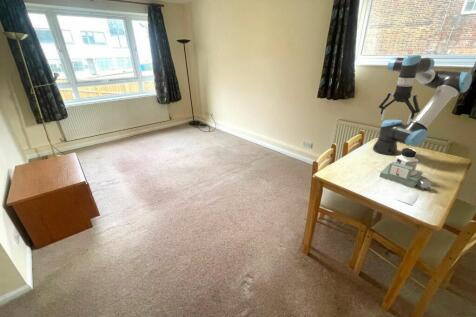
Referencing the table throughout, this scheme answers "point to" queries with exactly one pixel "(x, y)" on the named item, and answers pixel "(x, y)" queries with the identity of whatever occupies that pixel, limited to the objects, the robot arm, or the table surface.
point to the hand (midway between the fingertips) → (394, 121)
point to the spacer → (424, 184)
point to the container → (407, 158)
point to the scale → (401, 174)
